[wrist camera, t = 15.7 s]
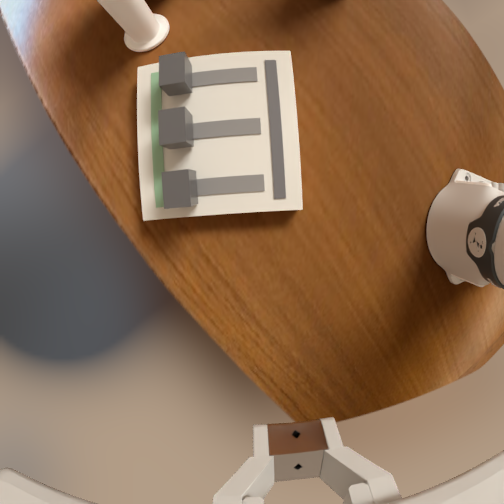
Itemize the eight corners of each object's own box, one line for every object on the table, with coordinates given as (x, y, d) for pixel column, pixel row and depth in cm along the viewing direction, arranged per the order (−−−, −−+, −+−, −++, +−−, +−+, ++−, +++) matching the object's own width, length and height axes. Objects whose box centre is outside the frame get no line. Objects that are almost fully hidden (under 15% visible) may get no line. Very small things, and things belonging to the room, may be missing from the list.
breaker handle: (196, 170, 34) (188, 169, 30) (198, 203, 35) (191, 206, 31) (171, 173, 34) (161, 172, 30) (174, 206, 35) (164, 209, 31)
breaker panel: (287, 59, 34) (290, 50, 31) (298, 207, 39) (302, 209, 35) (145, 74, 34) (137, 66, 31) (150, 218, 39) (142, 221, 36)
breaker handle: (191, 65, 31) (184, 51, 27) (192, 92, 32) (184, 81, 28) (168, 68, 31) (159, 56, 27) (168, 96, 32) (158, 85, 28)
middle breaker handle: (192, 115, 33) (184, 106, 28) (193, 146, 33) (186, 141, 29) (168, 118, 33) (158, 110, 28) (169, 149, 33) (159, 145, 29)
